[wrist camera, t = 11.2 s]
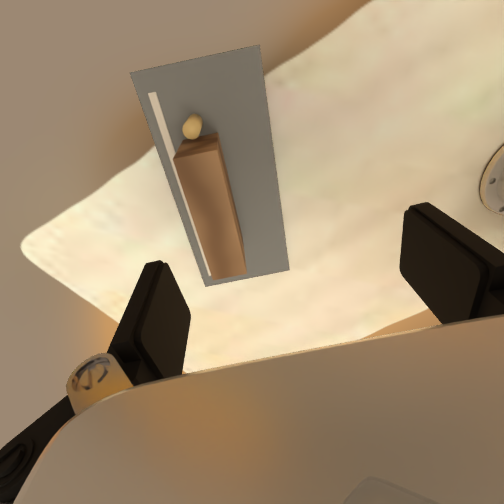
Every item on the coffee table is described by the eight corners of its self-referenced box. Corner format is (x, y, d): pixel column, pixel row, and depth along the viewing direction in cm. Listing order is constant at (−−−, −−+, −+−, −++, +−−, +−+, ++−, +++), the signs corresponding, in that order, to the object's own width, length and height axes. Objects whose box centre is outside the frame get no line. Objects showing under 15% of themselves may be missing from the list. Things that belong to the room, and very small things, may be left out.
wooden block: (218, 132, 32) (216, 149, 25) (242, 238, 39) (247, 273, 33) (182, 140, 32) (172, 159, 25) (214, 244, 40) (212, 280, 33)
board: (258, 45, 29) (266, 40, 24) (288, 265, 44) (296, 292, 39) (133, 72, 29) (113, 73, 24) (205, 281, 44) (203, 310, 39)
